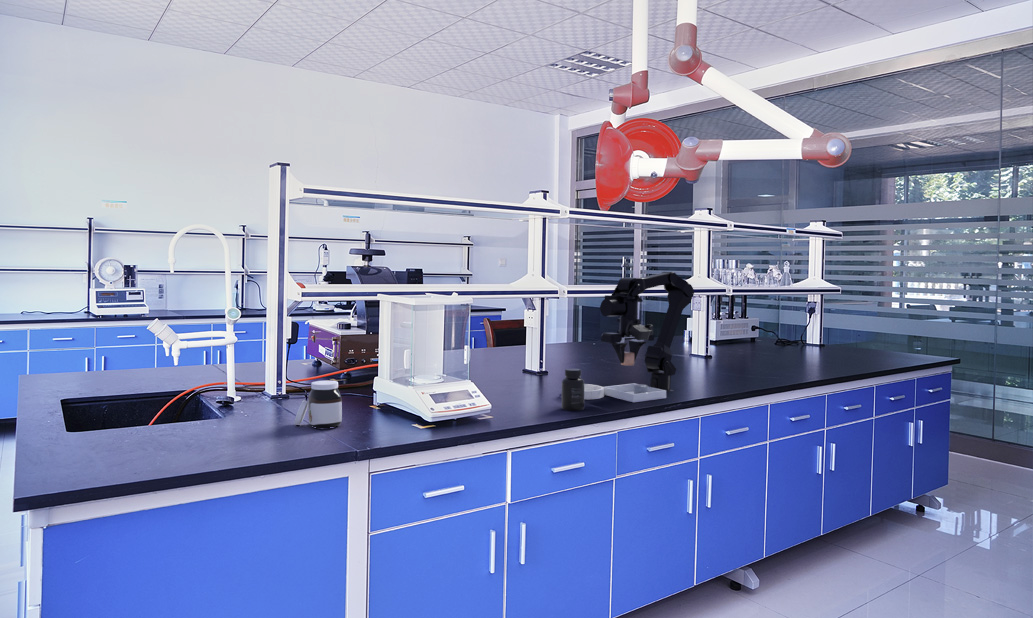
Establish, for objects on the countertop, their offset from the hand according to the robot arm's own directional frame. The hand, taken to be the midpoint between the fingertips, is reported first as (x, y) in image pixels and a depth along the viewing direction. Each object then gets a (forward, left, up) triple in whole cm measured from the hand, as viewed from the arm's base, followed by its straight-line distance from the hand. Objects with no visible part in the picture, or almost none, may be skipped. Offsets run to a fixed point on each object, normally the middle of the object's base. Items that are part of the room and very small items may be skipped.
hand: (627, 362), depth 220 cm
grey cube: (0, +7, -11) cm, 12 cm away
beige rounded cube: (0, 0, -1) cm, 1 cm away
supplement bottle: (+28, +7, -11) cm, 31 cm away
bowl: (+14, -6, -11) cm, 19 cm away
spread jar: (+100, -8, -12) cm, 101 cm away
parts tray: (0, +3, -11) cm, 12 cm away
